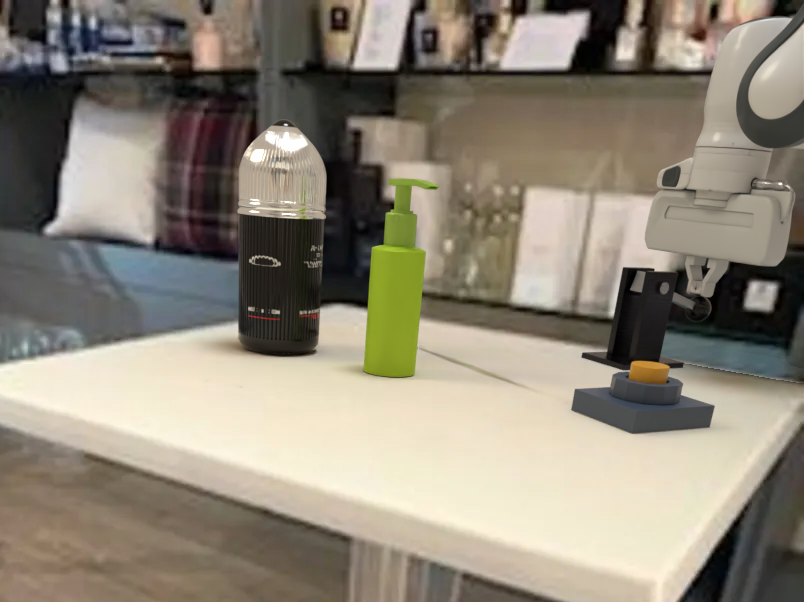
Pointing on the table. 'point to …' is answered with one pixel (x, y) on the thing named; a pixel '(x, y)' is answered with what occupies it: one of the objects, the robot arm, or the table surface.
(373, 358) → the soap dispenser
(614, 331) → the bracket
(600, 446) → the table surface
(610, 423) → the button housing
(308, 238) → the spray bottle
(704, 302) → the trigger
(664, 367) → the button
